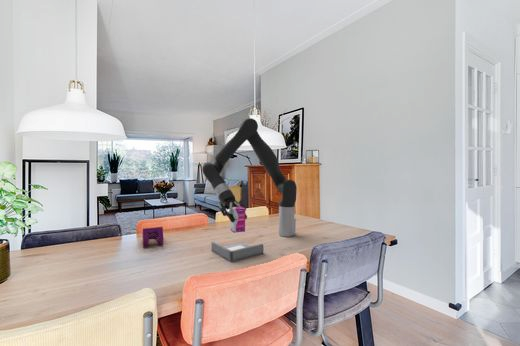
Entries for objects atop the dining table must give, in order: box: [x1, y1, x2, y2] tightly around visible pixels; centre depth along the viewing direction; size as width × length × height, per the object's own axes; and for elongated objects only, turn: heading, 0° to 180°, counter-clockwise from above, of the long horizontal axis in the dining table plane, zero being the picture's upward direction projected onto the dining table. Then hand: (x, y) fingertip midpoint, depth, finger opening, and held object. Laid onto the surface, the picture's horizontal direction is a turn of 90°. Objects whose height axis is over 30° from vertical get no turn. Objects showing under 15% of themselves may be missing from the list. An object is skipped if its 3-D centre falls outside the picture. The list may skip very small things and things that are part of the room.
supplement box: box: [230, 207, 247, 233], centre depth 128 cm, size 6×6×12 cm
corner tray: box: [210, 241, 264, 263], centre depth 126 cm, size 18×18×4 cm
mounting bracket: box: [142, 226, 164, 248], centre depth 141 cm, size 9×8×18 cm
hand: (239, 220), depth 127 cm, fingers closed on supplement box, 7 cm apart
